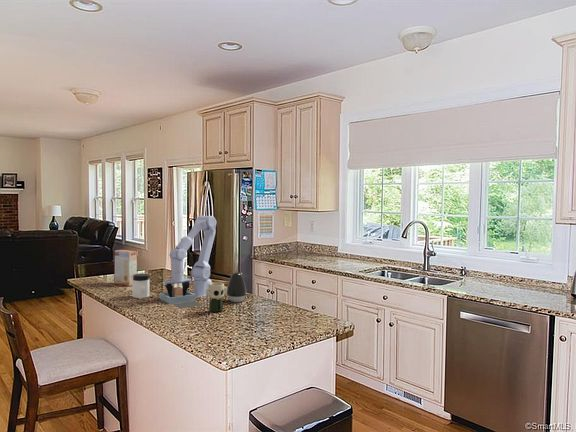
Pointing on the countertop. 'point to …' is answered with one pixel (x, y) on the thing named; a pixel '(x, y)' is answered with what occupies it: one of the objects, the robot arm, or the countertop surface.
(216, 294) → the character mug
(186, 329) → the countertop surface
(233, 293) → the dark grey dome figure
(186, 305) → the mat
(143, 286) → the jar
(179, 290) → the block
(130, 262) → the cracker box
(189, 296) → the bin
